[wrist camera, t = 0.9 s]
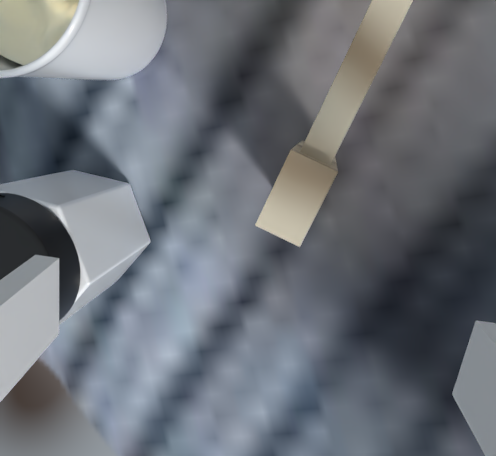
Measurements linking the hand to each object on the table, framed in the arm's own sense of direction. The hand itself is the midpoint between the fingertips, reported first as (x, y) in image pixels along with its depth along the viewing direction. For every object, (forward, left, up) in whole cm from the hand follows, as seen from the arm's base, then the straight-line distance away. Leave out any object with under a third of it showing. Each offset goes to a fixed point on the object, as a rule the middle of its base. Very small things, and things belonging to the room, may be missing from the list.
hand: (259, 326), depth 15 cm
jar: (+13, +8, -18) cm, 24 cm away
